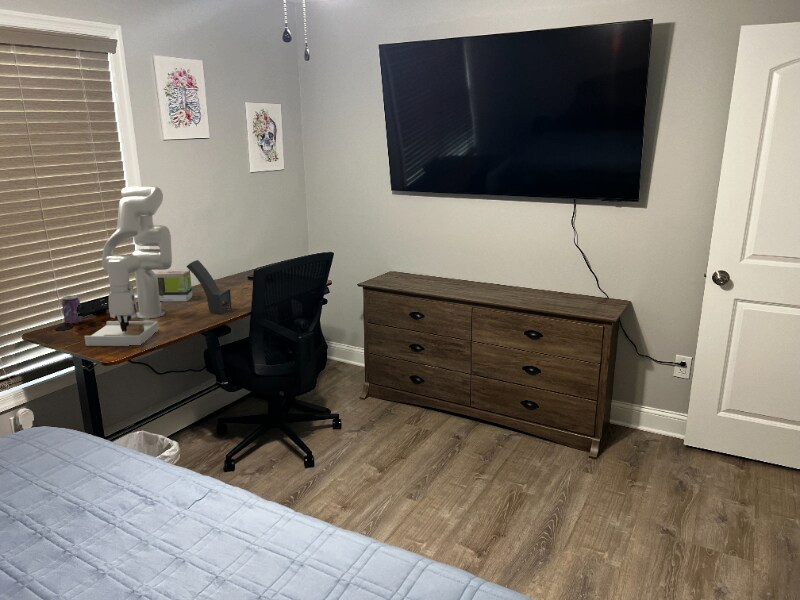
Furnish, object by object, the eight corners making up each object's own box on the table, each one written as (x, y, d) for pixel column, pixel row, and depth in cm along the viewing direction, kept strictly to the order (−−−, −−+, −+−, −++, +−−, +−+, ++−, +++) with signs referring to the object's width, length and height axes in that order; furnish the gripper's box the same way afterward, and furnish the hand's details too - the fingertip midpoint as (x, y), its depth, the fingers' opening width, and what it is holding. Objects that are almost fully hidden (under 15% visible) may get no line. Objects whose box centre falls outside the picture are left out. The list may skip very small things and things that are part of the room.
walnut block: (132, 330, 256) (131, 322, 255) (144, 330, 256) (143, 323, 255) (127, 334, 251) (126, 326, 250) (139, 334, 251) (138, 326, 250)
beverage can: (62, 322, 273) (58, 297, 270) (78, 319, 278) (75, 294, 275) (68, 326, 269) (64, 300, 265) (85, 322, 274) (81, 297, 271)
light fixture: (199, 306, 300) (195, 258, 293) (232, 308, 297) (228, 260, 291) (188, 312, 290) (184, 263, 283) (222, 314, 287) (218, 265, 280)
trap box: (108, 329, 264) (107, 321, 263) (158, 330, 264) (157, 321, 263) (85, 345, 245) (84, 336, 244) (140, 346, 245) (139, 336, 244)
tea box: (192, 296, 317) (190, 269, 313) (187, 302, 308) (184, 273, 304) (164, 296, 317) (161, 269, 313) (157, 302, 307) (154, 273, 303)
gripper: (142, 286, 252) (146, 328, 257) (106, 286, 252) (111, 327, 257) (134, 290, 245) (139, 333, 250) (97, 290, 245) (103, 333, 250)
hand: (125, 330), depth 254 cm, fingers closed
